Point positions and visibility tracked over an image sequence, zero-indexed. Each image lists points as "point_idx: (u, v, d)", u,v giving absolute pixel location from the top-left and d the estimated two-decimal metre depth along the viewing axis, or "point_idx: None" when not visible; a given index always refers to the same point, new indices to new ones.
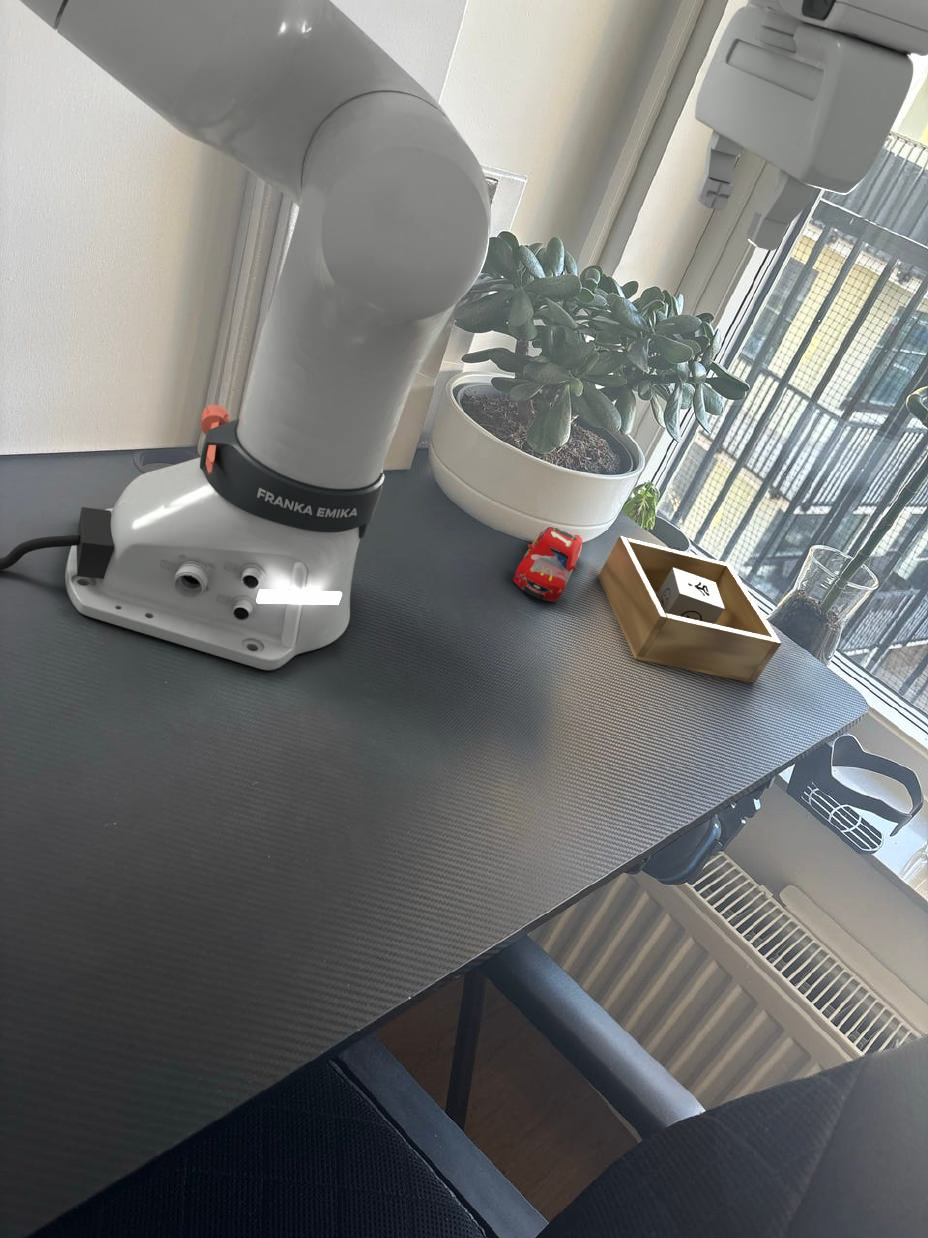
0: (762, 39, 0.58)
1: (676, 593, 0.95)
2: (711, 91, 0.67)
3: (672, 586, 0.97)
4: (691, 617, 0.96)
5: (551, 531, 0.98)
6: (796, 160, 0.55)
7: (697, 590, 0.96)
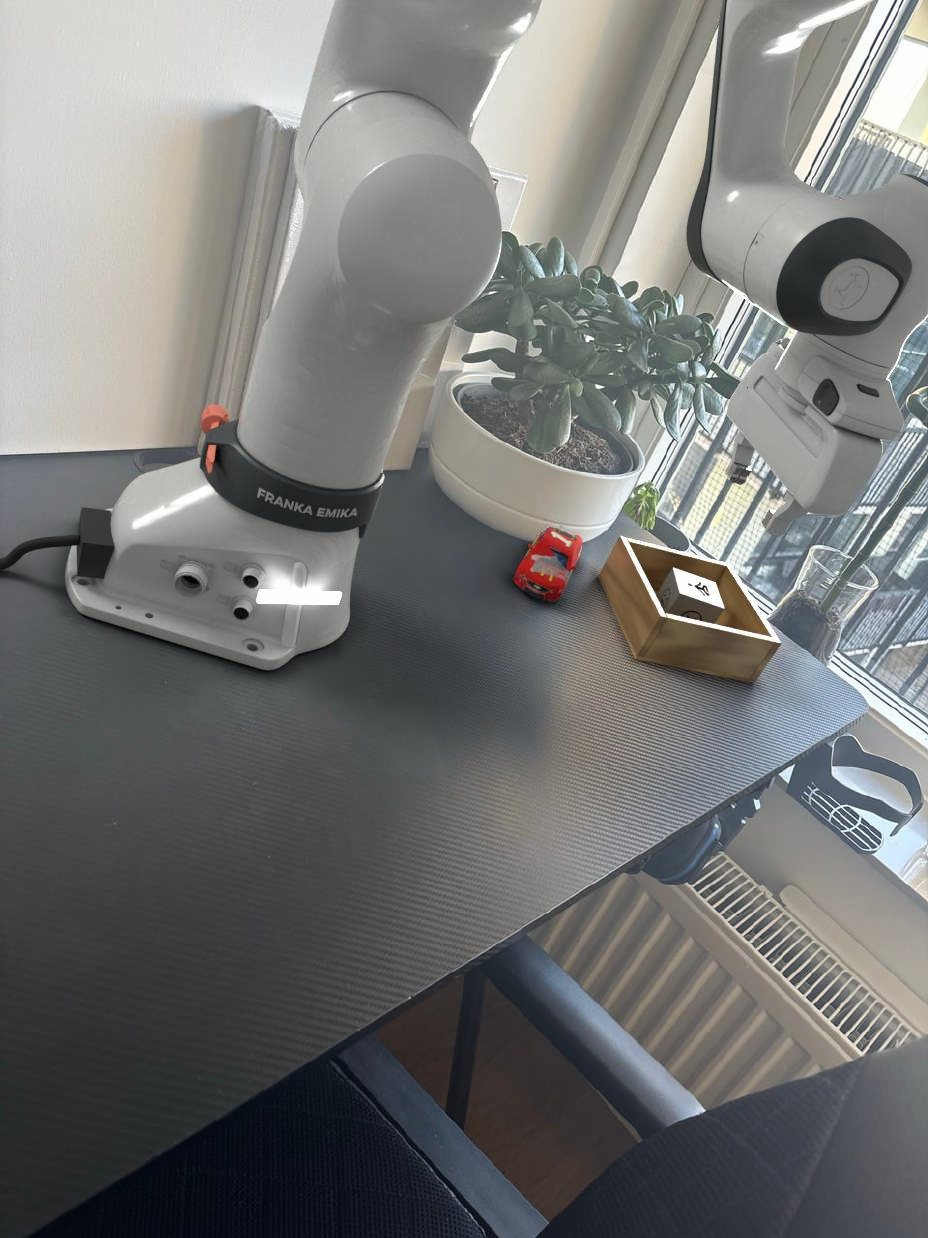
0: (783, 399, 0.84)
1: (676, 593, 0.95)
2: (741, 403, 0.93)
3: (672, 586, 0.97)
4: (691, 617, 0.96)
5: (551, 531, 0.98)
6: (801, 494, 0.81)
7: (697, 590, 0.96)
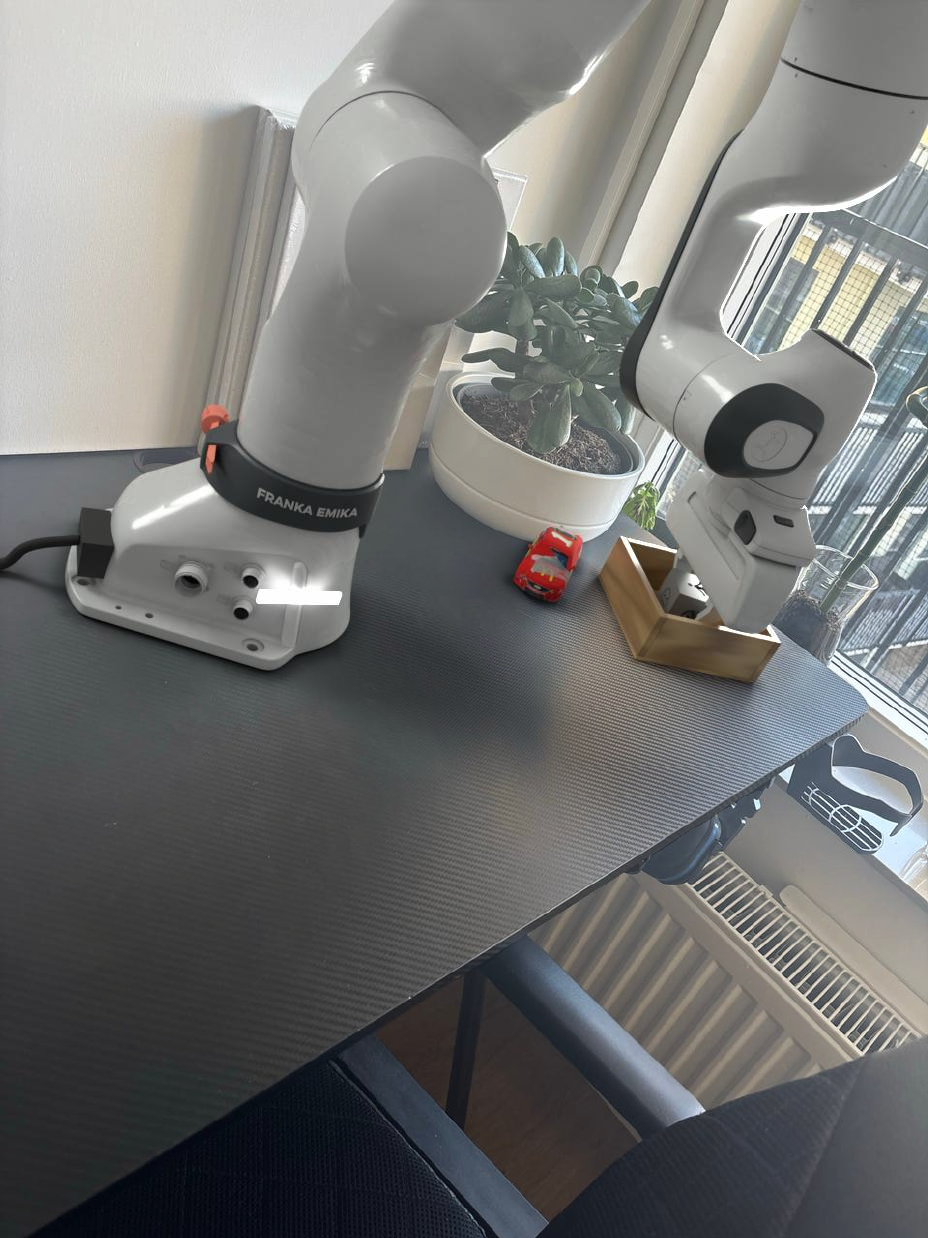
0: (710, 521, 0.91)
1: (676, 593, 0.95)
2: (677, 514, 1.00)
3: (672, 586, 0.97)
4: None
5: (551, 531, 0.98)
6: (724, 612, 0.88)
7: (697, 590, 0.96)
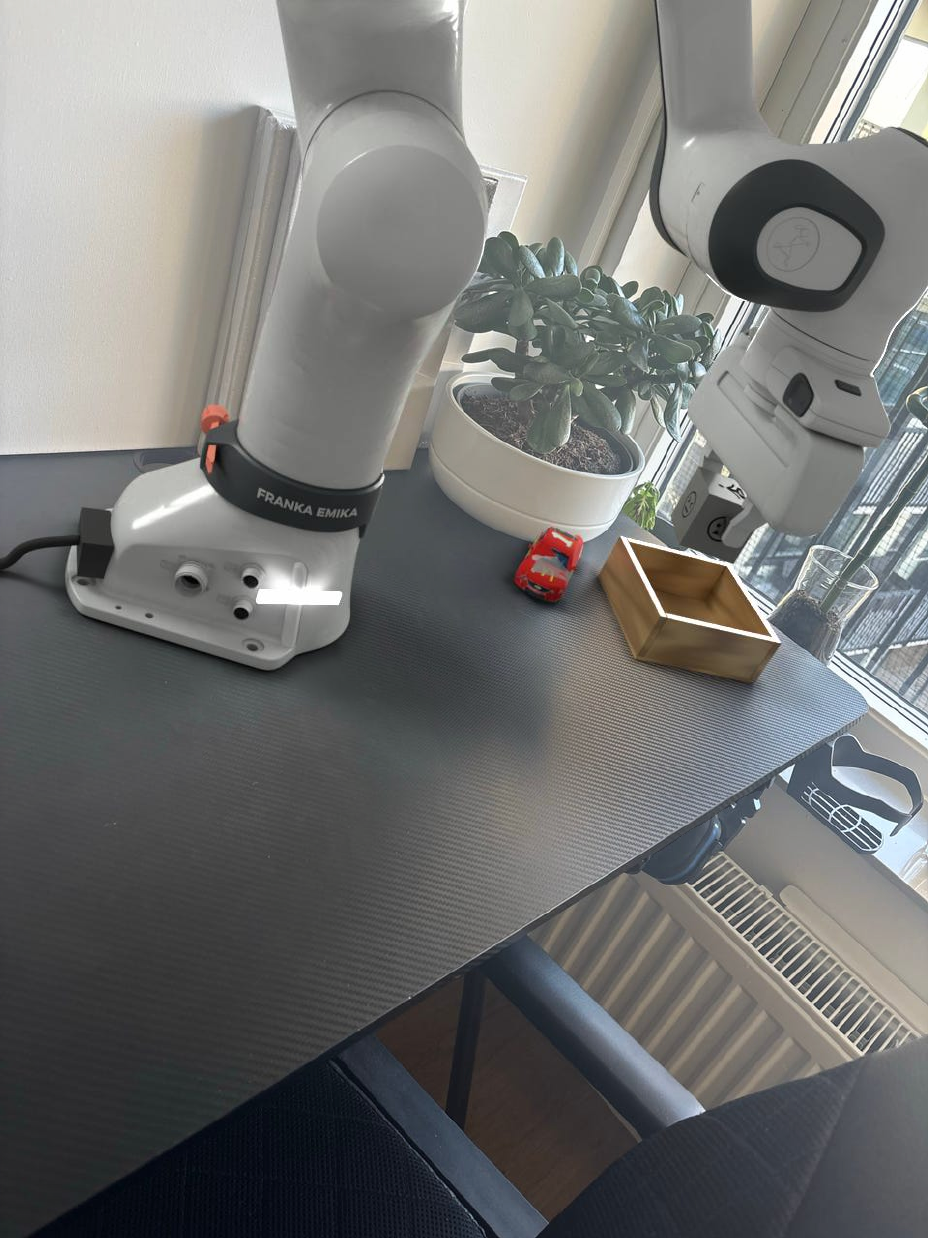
0: (749, 398, 0.72)
1: (704, 494, 0.76)
2: (703, 402, 0.80)
3: (698, 487, 0.77)
4: None
5: (552, 532, 0.98)
6: (769, 510, 0.69)
7: (730, 492, 0.77)
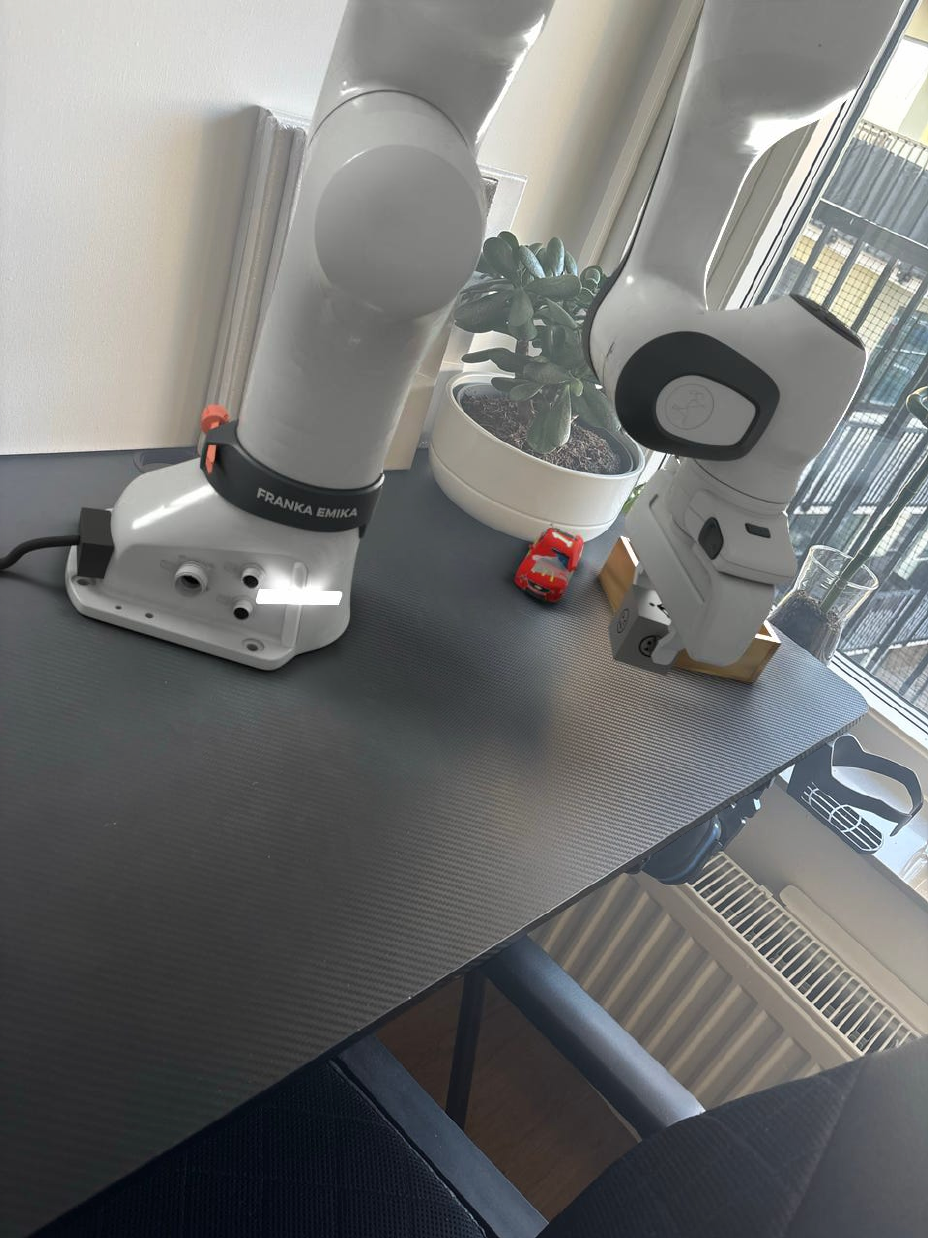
0: (672, 530, 0.76)
1: (634, 614, 0.80)
2: (637, 521, 0.85)
3: (631, 606, 0.82)
4: None
5: (552, 532, 0.98)
6: (688, 640, 0.73)
7: (660, 611, 0.81)
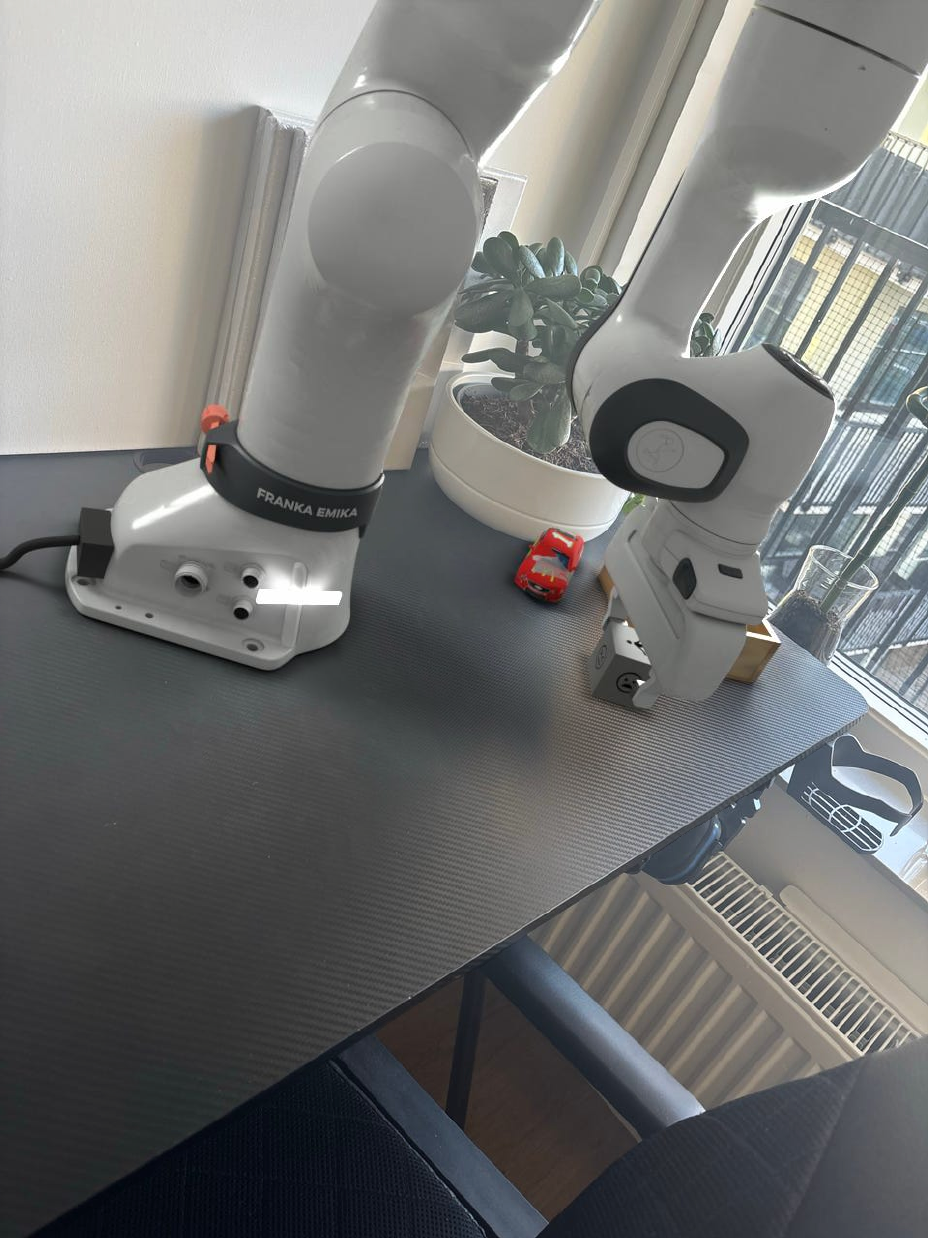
0: (648, 567, 0.78)
1: (612, 652, 0.83)
2: (616, 555, 0.87)
3: (609, 643, 0.84)
4: (630, 680, 0.83)
5: (552, 532, 0.98)
6: (662, 676, 0.75)
7: (637, 648, 0.84)
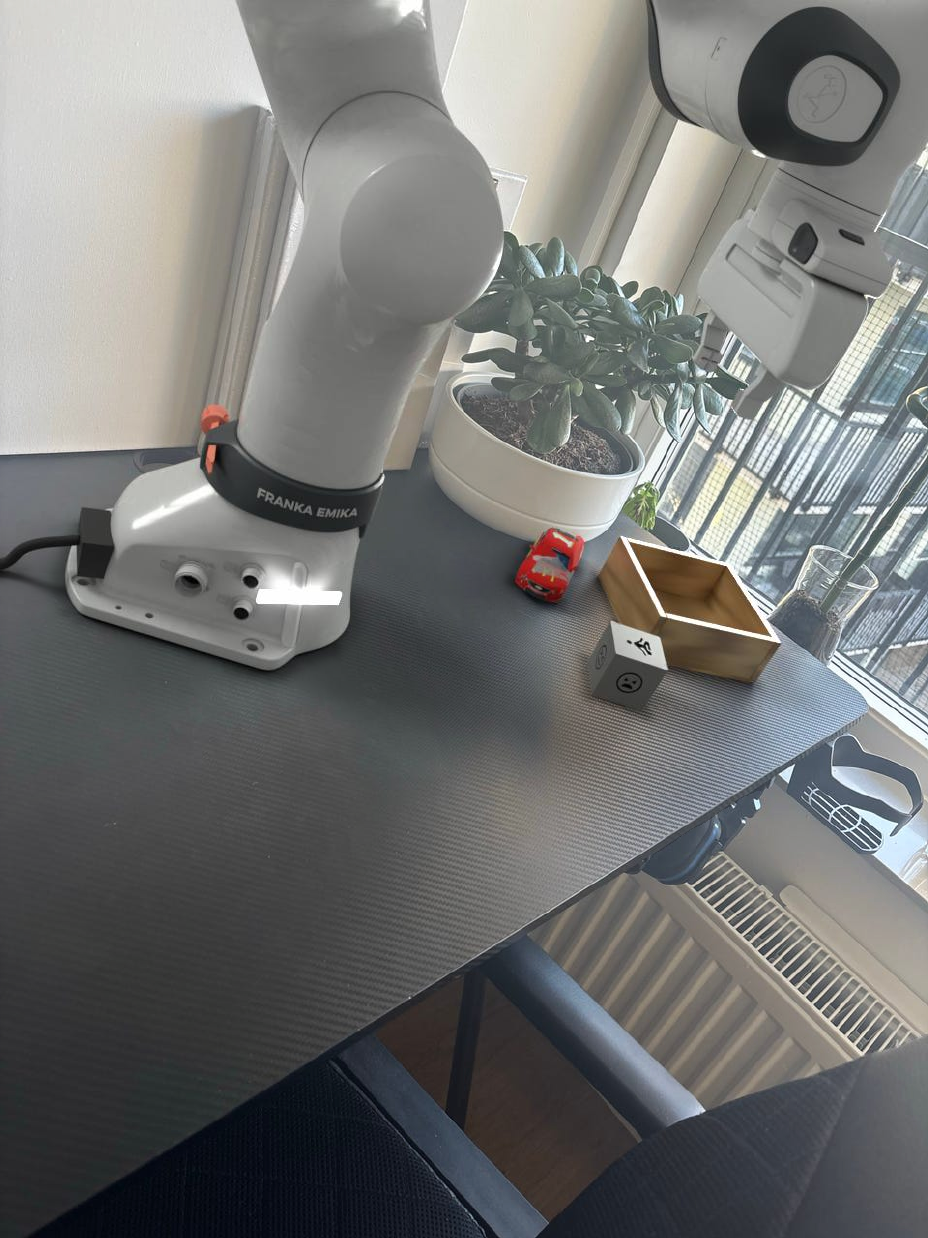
0: (756, 258, 0.74)
1: (612, 652, 0.83)
2: (711, 278, 0.82)
3: (609, 643, 0.84)
4: (630, 680, 0.83)
5: (553, 532, 0.98)
6: (774, 361, 0.71)
7: (637, 648, 0.84)
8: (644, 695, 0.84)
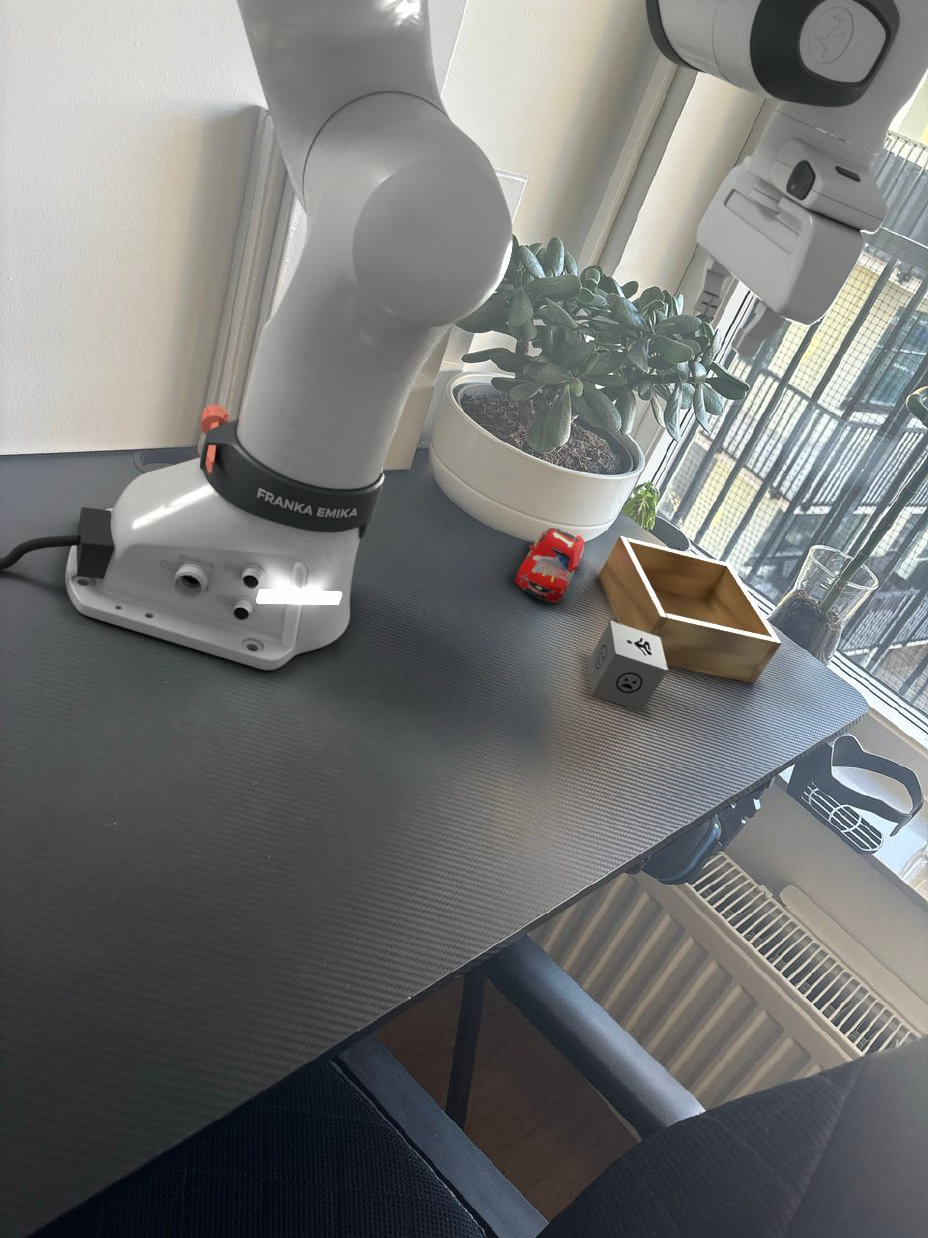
0: (754, 199, 0.76)
1: (612, 652, 0.83)
2: (710, 224, 0.85)
3: (609, 643, 0.84)
4: (630, 680, 0.83)
5: (553, 532, 0.98)
6: (774, 297, 0.73)
7: (637, 648, 0.84)
8: (644, 695, 0.84)
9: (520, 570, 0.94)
